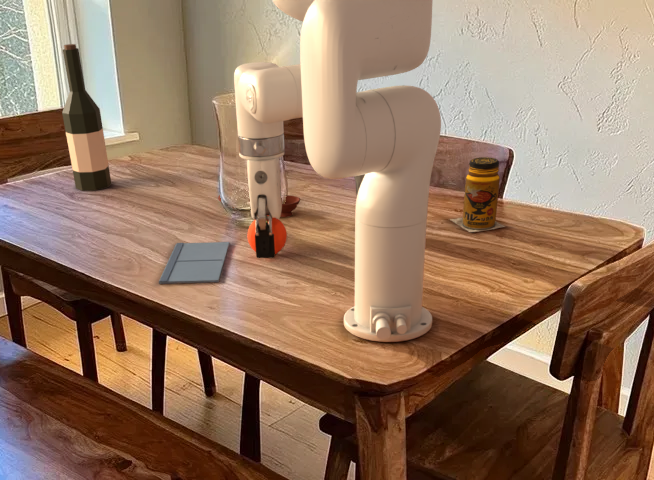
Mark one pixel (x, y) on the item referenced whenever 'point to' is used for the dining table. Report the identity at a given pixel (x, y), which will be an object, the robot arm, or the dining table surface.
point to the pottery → (286, 205)
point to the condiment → (481, 196)
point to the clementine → (277, 230)
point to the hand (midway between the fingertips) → (267, 248)
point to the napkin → (195, 263)
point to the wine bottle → (84, 129)
